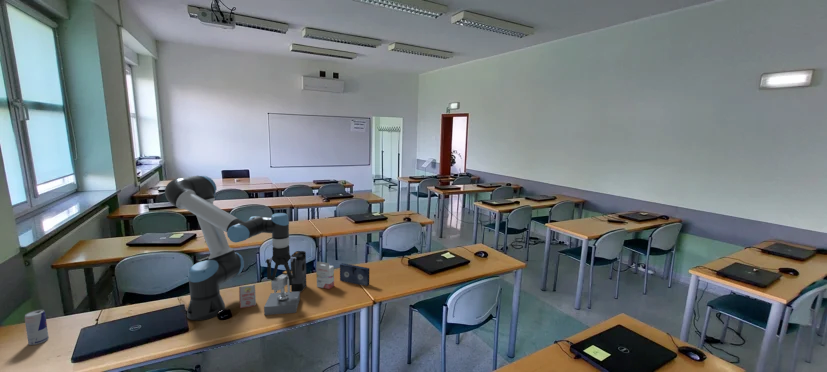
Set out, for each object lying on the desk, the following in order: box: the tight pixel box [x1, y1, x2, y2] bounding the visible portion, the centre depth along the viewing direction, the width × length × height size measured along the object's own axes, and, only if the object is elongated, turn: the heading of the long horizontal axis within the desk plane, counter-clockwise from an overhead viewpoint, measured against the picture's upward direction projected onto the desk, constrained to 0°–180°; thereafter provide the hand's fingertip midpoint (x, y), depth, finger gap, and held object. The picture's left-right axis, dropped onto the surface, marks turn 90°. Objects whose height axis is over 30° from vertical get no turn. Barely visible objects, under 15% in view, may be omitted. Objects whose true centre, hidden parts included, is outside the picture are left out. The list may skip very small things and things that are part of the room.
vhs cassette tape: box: [339, 262, 370, 287], centre depth 191 cm, size 18×3×10 cm, turn 68°
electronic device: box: [290, 250, 307, 293], centre depth 181 cm, size 9×6×20 cm, turn 179°
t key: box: [270, 270, 292, 300], centre depth 161 cm, size 11×5×12 cm, turn 165°
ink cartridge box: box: [315, 261, 335, 290], centre depth 185 cm, size 9×5×15 cm, turn 73°
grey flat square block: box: [263, 291, 301, 316], centre depth 162 cm, size 14×14×4 cm
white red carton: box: [238, 284, 257, 309], centre depth 162 cm, size 4×7×10 cm, turn 113°
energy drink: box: [24, 309, 49, 346], centre depth 130 cm, size 5×5×12 cm
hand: (282, 291), depth 161 cm, fingers closed on t key, 5 cm apart
